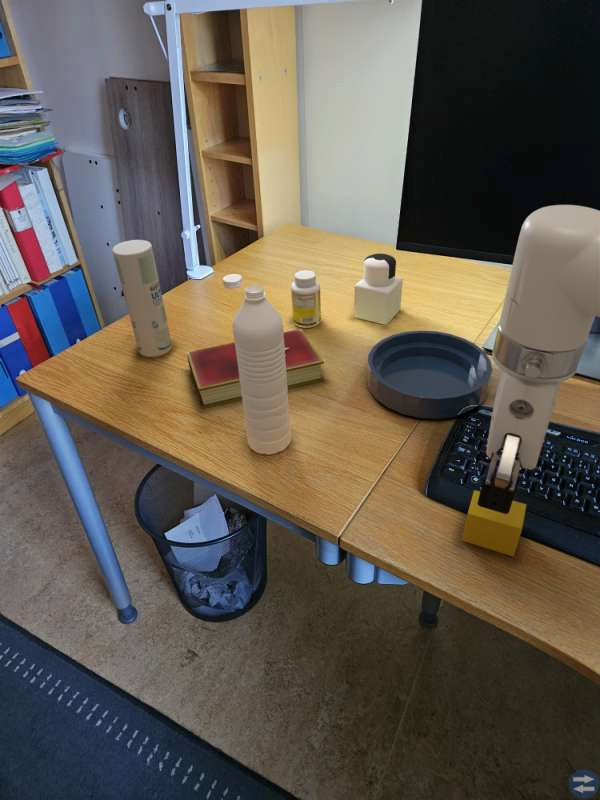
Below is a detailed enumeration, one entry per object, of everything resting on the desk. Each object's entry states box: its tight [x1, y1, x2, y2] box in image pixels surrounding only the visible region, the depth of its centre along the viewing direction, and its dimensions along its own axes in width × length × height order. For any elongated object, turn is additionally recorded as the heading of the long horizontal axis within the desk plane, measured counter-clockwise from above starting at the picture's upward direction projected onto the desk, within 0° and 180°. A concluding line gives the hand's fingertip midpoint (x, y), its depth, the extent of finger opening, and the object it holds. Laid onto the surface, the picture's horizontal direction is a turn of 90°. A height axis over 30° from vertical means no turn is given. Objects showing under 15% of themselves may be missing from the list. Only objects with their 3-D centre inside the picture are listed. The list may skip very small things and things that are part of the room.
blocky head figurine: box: [353, 253, 404, 326], centre depth 109 cm, size 7×7×12 cm
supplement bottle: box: [290, 269, 322, 329], centre depth 108 cm, size 6×6×10 cm
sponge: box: [461, 490, 527, 557], centre depth 66 cm, size 6×4×5 cm, turn 66°
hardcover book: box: [186, 328, 325, 409], centre depth 96 cm, size 12×21×4 cm, turn 109°
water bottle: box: [222, 273, 292, 455], centre depth 76 cm, size 9×6×25 cm
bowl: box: [366, 330, 493, 420], centre depth 92 cm, size 20×20×4 cm
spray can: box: [111, 239, 173, 358], centre depth 99 cm, size 6×6×20 cm
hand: (500, 477), depth 62 cm, fingers open, 9 cm apart
